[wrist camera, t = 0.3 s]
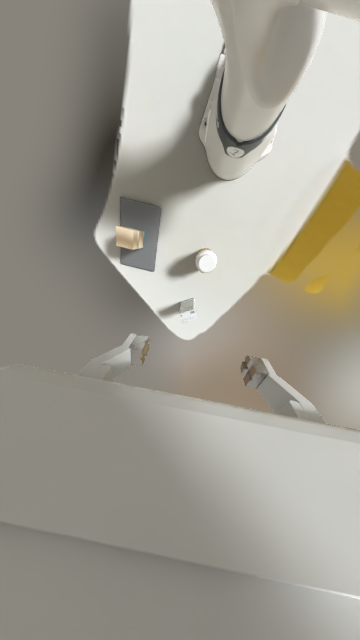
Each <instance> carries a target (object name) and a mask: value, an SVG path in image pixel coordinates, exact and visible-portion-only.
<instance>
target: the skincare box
mask: <svg viewBox="0 0 360 640" xmlns="http://www.w3.org/2000/svg"><path fill="white" fill-rule="evenodd" d="M179 316H180V318H181V321H182V323H184V322H187V321H190V320H194V319H197V305H196V302H195V299H194V298H192V299H189V300H185V301H182V302H181V306H180V310H179Z"/></svg>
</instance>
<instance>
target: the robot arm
mask: <svg viewBox="0 0 360 640" xmlns="http://www.w3.org/2000/svg"><path fill="white" fill-rule="evenodd" d="M211 2H212V5H213V8H214V10H215V13H216V15H217V19H218V22H219V25H220V28H221V31H222V35H223V38H224V42H225V49H224V53H223V54H221V55H220V58H219V61H218V65H217V70H216V78H215V81H214V84H213V87H212V91H211V94H210V97H209V100H208V103H207V106H206V110H205V113H204V116H203V119H202V122H201V125H200V129H199V137H200V140H201V141H202V143H203V145H204V146H205V149H206V153H207V158H208V162H209V164H210V167H211V169H212V170H213V172H214V173H215V174H216V175H217V176H218V177H220V178H222V179H226V180H232V179H236V178H239V177H240V176H242V175H244V174H245V173H246V172H247V171H248V170H249V169H250V168H251V167H252V166H253V165H254V164H255V163H256V162H257V161H259V160H261V159H263V158H264V157H266V156H267V155H268V154H269V152H270V151H271V148H272V145H273V141H274V137H275V134H276V132H277V125H278V121H279V118H280V116H281V114H282V112H283V110H284V108H285V106H286V103H287V102H288V100H289V99H290V97H291V96H292V94H293V93H294V91H295V90H296V88H297V87H298V85H299V84H300V82H301V80H302V79H303V77H304V75H305V74H306V72H307V70H308V68H309V66H310V64H311V62H312V59H313V57H314V55H315V53H316V50H317V48H318V45H319V42H320V39H321V36H322V33H323V29H324V26H325V21H326V17H327V12H329V13H332V14H336V15H339V16H343V17H346V18H350V19H353V20H357V21H360V0H211ZM205 123H207V126H205ZM148 342H149V337H147V336H142V335H137V334H132V333H131V334H130V335H129V337H128V338H127V339H126V341H125V342H124V344H123V345H122V346H119V347H117V348H115V349H113V350H111V351H109V352H107V353H105V354H103V355H101V356H99V357H96V358H94V359H92V360H90V361H89V362H88V363H87V364H86V365H85V367H84V368H83V369H82V370H81V371H80V373H78V375H74V374H69V373H64V372H58V371H53V370H48V369H43V368H38V367H33V366H28V365H23V364H13V365H9V366H6V367H2V368H0V640H360V430H357V429H352V428H346V427H341V426H336V425H331V424H326V423H325V422H324V421H323V419H322V418H321V416H320V415H319V413H318V412H317V410H316V409H315V408H314V406H313V404H312V403H310V402H309V401H308V400H307V399H306V398H304V397H303V396H302V395H301V394H299V393H298V392H297V391H296V390H295V389H293V388H292V387H291V386H290V385H289V384H287V383H286V382H285V381H284V380H283V379H281V378H280V377H279V376H277V375H276V374H275V372H274V370H273V368H272V367H271V365H270V363H269V361H268V360H267V359H264V358H258V357H253V356H246V357H245V361H244V362H242V364H241V374H242V375H243V376H244V378H243V380H244V383H245V386H246V387H251V388H255V389H257V390H258V392H259V393H260V394H261V396H262V397H263V398H264V399H265V401H266V402H267V403H268V404H269V406H270V407H271V408H272V409H273V410H274V412H275V413H269V412H264V411H259V410H254V409H249V408H243V407H239V406H233V405H228V404H223V403H218V402H213V401H208V400H202V399H197V398H192V397H187V396H182V395H176V394H171V393H167V392H161V391H156V390H151V389H146V388H141V387H135V386H130V385H125V384H120V383H115V382H114V381H113V379H114V378H116V377H117V376H118V375H119V374H121V373H122V372H123V371H125V370H126V369H127V368H129V367H130V366H131V365H136V366H142V365H143V363H144V360H145V356H147V353H148V350H149V344H148Z"/></svg>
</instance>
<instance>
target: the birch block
mask: <svg viewBox="0 0 360 640" xmlns="http://www.w3.org/2000/svg"><path fill="white" fill-rule="evenodd" d="M144 236H145V231H141V230H137V229H133V228H128V227H121V226H116V246H120V247H124V248H128V249H132V250H134V249H139V248H144Z"/></svg>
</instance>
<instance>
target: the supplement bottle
mask: <svg viewBox="0 0 360 640" xmlns="http://www.w3.org/2000/svg"><path fill="white" fill-rule="evenodd" d="M195 264H196V267H197V269H198V270H199V271H200V272H202V273H209V272H211V271H212V270H213V269H214V268H215V266H216V264H217V257H216V255H215V253H214V252H213V251H211V250H210V249H208V248H204V249H201V250H200V251H199V252H198V253H197V255H196V260H195Z"/></svg>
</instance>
